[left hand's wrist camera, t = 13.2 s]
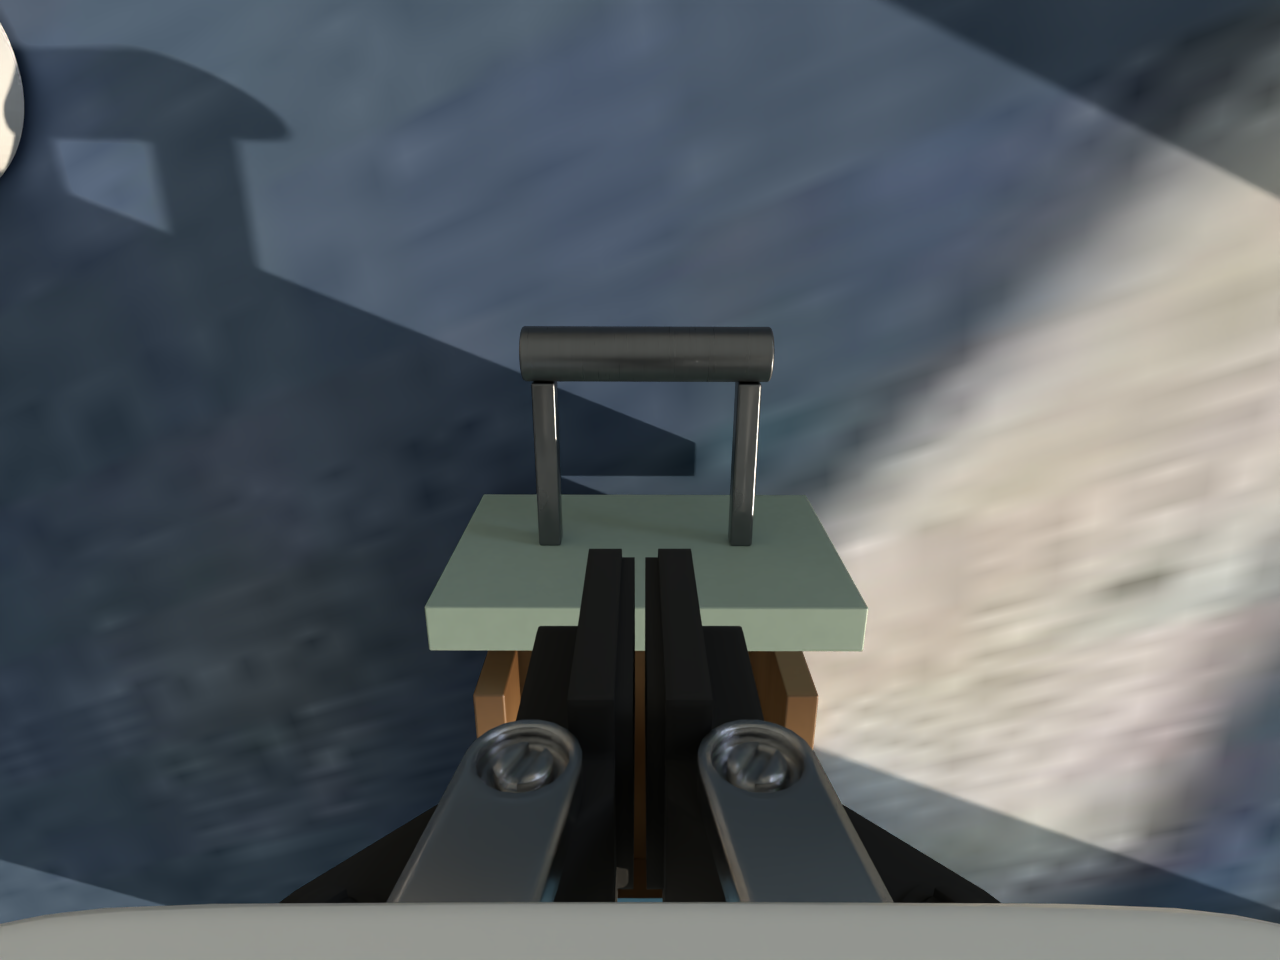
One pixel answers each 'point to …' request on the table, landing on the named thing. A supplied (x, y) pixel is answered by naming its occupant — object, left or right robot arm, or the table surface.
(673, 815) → the left robot arm
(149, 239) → the table surface
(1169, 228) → the table surface
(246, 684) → the table surface
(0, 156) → the coffee cup
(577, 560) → the drawer
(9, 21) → the table surface
